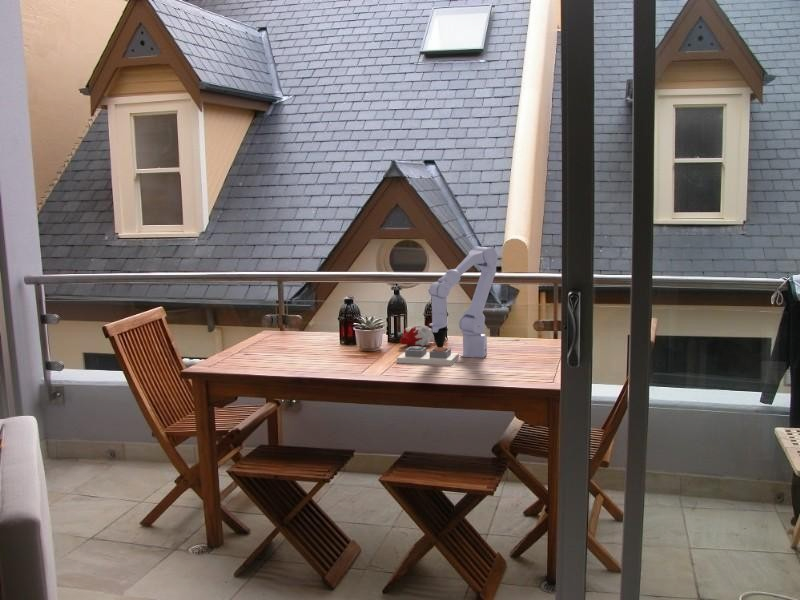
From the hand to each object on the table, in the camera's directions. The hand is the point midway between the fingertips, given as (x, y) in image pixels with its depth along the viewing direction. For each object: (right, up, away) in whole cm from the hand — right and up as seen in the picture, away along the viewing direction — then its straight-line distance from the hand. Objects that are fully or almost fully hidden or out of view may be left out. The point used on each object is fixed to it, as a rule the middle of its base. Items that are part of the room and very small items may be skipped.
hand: (440, 347), depth 313 cm
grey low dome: (-9, -3, +4) cm, 10 cm away
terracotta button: (0, -2, 0) cm, 2 cm away
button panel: (-5, -5, +2) cm, 8 cm away
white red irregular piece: (-10, -2, +29) cm, 31 cm away
